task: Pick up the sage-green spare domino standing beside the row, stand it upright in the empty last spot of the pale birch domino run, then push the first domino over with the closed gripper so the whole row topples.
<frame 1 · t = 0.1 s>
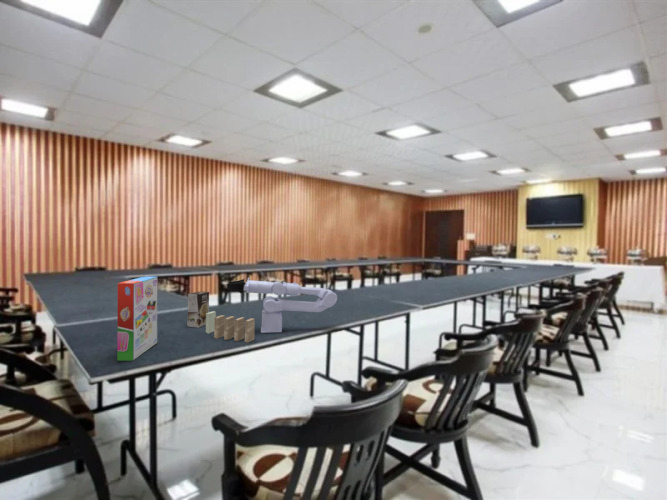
hand: (228, 285, 163), 22 cm above the table, tool horizontal, fingers open, 7 cm apart
domino 1: (249, 340, 151), on the table
spare domino: (210, 331, 163), on the table
domino 3: (229, 338, 154), on the table
game box: (138, 352, 133), on the table
coffee box: (198, 325, 175), on the table
domino 4: (219, 336, 155), on the table
domino 2: (239, 339, 152), on the table
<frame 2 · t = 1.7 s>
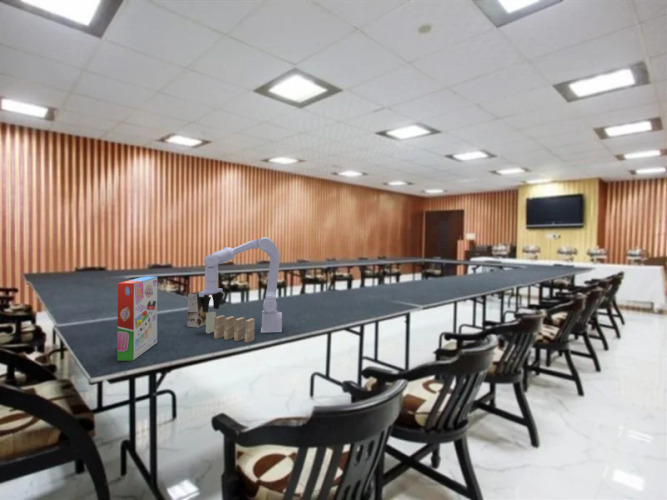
hand: (211, 310, 163), 10 cm above the table, tool pointing down, fingers open, 7 cm apart
nothing on the table moved.
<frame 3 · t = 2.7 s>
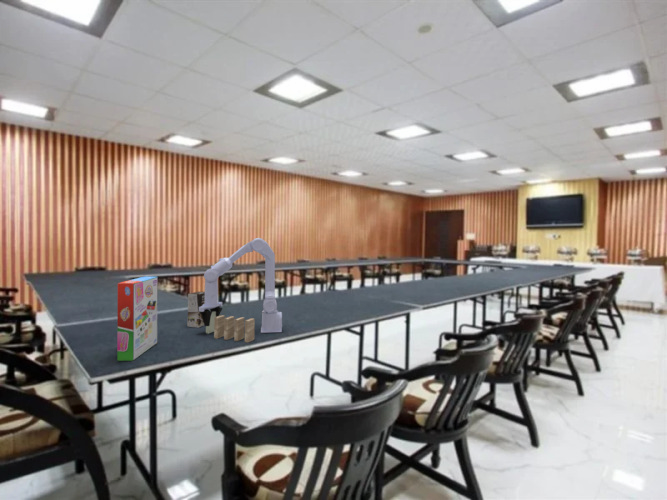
hand: (210, 324, 163), 3 cm above the table, tool pointing down, fingers closed on spare domino, 5 cm apart
spare domino: (210, 331, 163), on the table, touching gripper
everything else where it was.
when the fingers open (4 cm above the table, at t = 6.6 s): spare domino stays where it is, on the table.
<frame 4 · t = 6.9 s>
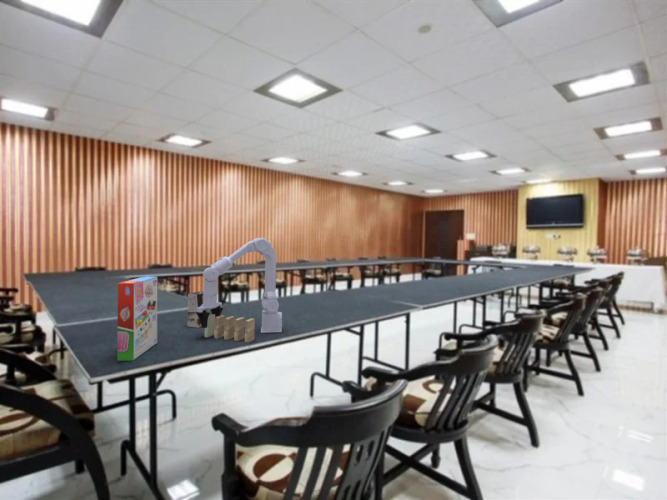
hand: (209, 325, 157), 4 cm above the table, tool pointing down, fingers open, 7 cm apart
spare domino: (209, 335, 157), on the table
everything else where it was.
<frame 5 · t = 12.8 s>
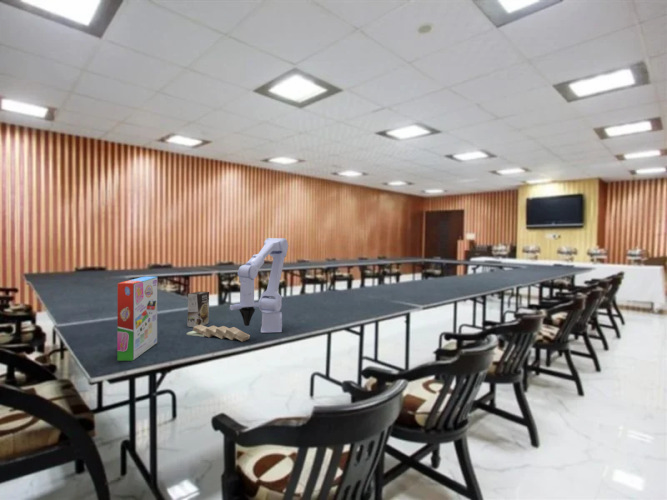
hand: (246, 325, 151), 6 cm above the table, tool pointing down, fingers closed
domino 1: (246, 338, 151), point 1 cm above the table, tilted 72°, touching domino 2
spare domino: (207, 335, 157), on the table, tilted 90°, touching domino 4
domino 3: (226, 335, 155), point 1 cm above the table, tilted 75°, touching domino 2, domino 4
domino 4: (213, 334, 156), point 1 cm above the table, tilted 76°, touching domino 3, spare domino
domino 2: (236, 337, 153), point 1 cm above the table, tilted 72°, touching domino 1, domino 3
everything else where it was.
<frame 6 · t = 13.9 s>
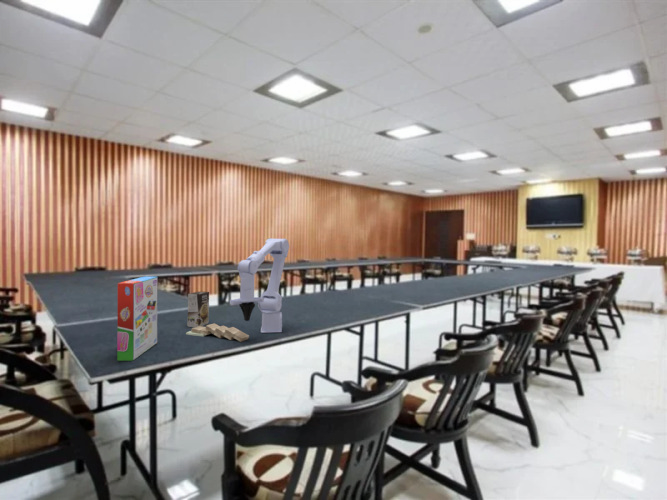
hand: (246, 320, 151), 8 cm above the table, tool pointing down, fingers closed
spare domino: (206, 335, 158), on the table, tilted 90°
domino 3: (224, 335, 155), point 1 cm above the table, tilted 71°
domino 4: (211, 331, 158), point 2 cm above the table, tilted 89°
domino 2: (235, 337, 153), point 1 cm above the table, tilted 72°, touching domino 1
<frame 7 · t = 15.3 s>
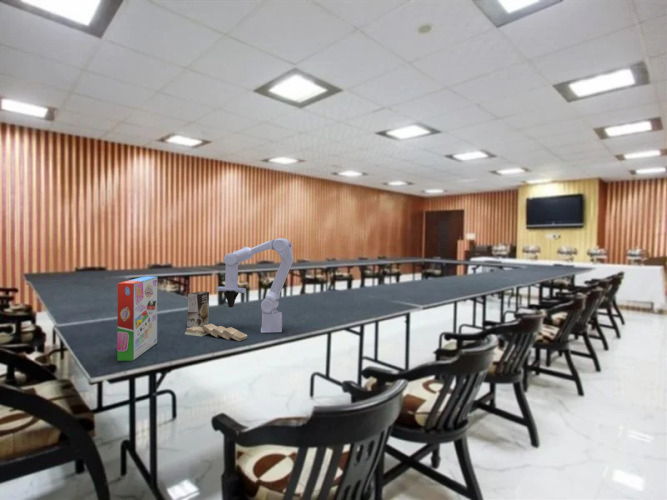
hand: (231, 307, 170), 10 cm above the table, tool pointing down, fingers closed
spare domino: (205, 335, 158), on the table, tilted 90°, touching domino 4
domino 3: (221, 334, 156), point 1 cm above the table, tilted 73°, touching domino 2, domino 4
domino 4: (206, 331, 158), point 2 cm above the table, tilted 90°, touching domino 3, spare domino
domino 2: (232, 336, 153), point 1 cm above the table, tilted 74°, touching domino 1, domino 3
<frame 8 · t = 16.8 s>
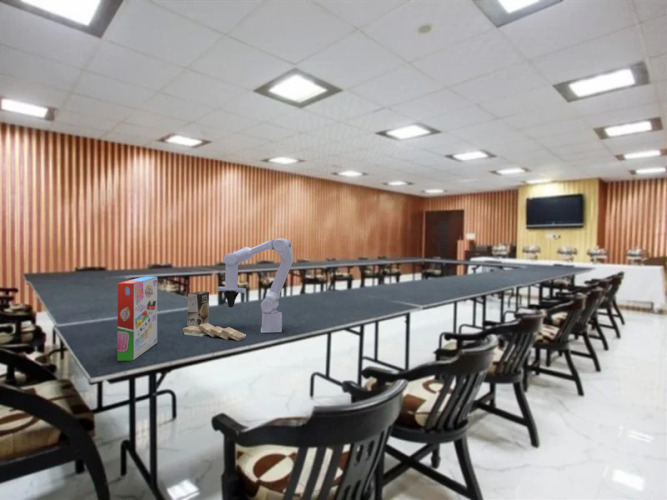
hand: (231, 307, 170), 10 cm above the table, tool pointing down, fingers closed
domino 3: (217, 334, 156), point 1 cm above the table, tilted 71°, touching domino 2, domino 4
domino 4: (202, 331, 158), point 2 cm above the table, tilted 90°, touching domino 3, spare domino
at the end: spare domino inside the target area (1.4 cm from its centre), on the table; domino 1 tilted 74°; spare domino tilted 90° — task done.
